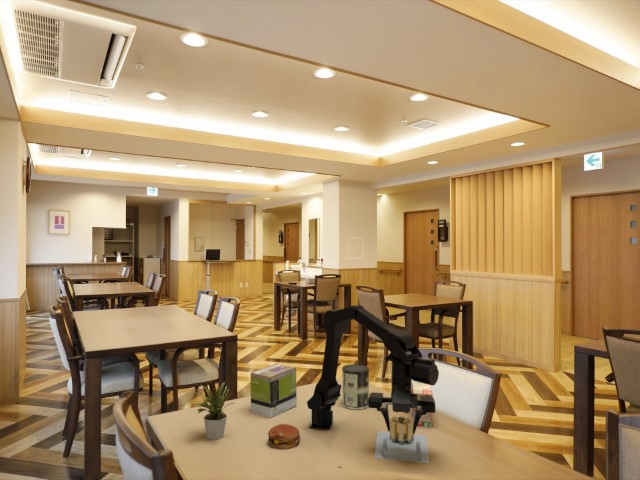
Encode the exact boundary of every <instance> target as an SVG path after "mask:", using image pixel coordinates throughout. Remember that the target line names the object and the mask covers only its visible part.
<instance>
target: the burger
mask: <svg viewBox="0 0 640 480" xmlns="http://www.w3.org/2000/svg"><path fill="white" fill-rule="evenodd" d="M267 435H268V439H267V440H268V442H269V443H270V445H271V446H272V447H274V448H276V447H277V448H278V449H279V450H289V449H293V448H295V447H296V446H297V445H298V443H299V442H300V440H301V435H300V430H299V429H298V427H296V426H294V425H292V424H287V423H280V424H277V425H275V426H272V427H271V428H270V429H269V430H268V432H267Z"/></svg>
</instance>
